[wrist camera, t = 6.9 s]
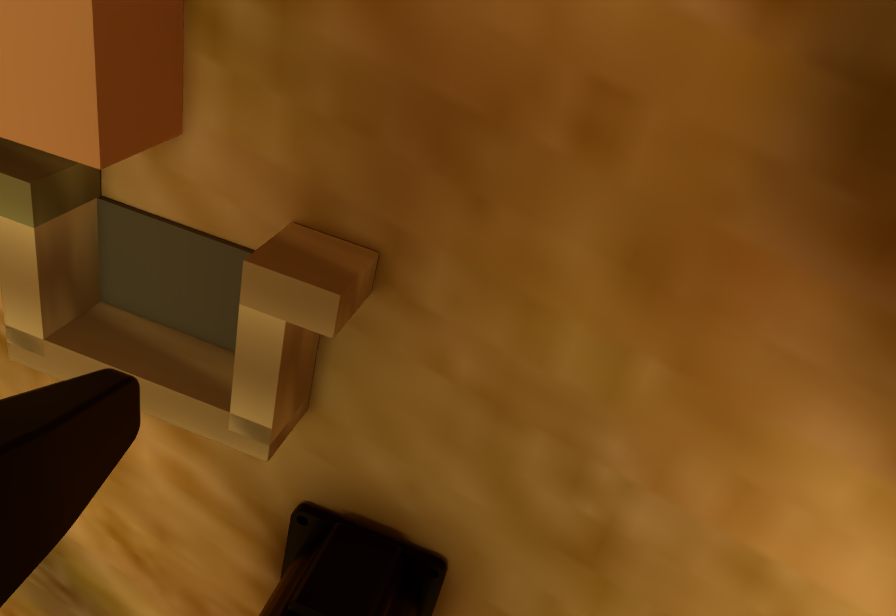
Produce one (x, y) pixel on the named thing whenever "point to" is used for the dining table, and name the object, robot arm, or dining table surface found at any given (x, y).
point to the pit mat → (169, 273)
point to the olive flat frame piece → (158, 346)
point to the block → (91, 76)
